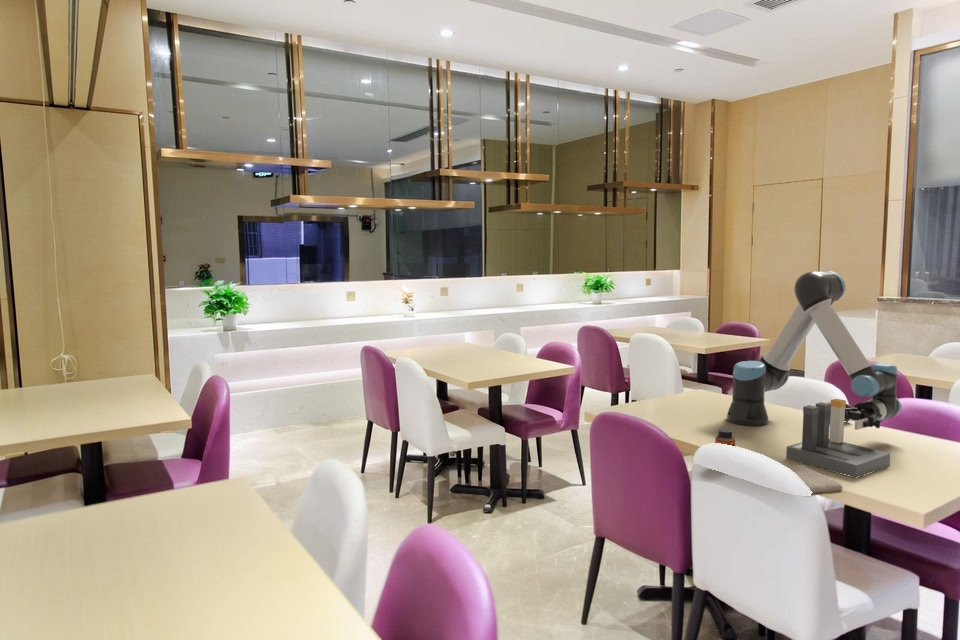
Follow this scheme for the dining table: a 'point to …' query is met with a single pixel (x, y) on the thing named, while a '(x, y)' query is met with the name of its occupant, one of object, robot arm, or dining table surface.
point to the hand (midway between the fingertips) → (834, 420)
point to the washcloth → (816, 480)
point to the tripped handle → (837, 420)
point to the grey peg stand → (832, 447)
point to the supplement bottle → (725, 437)
